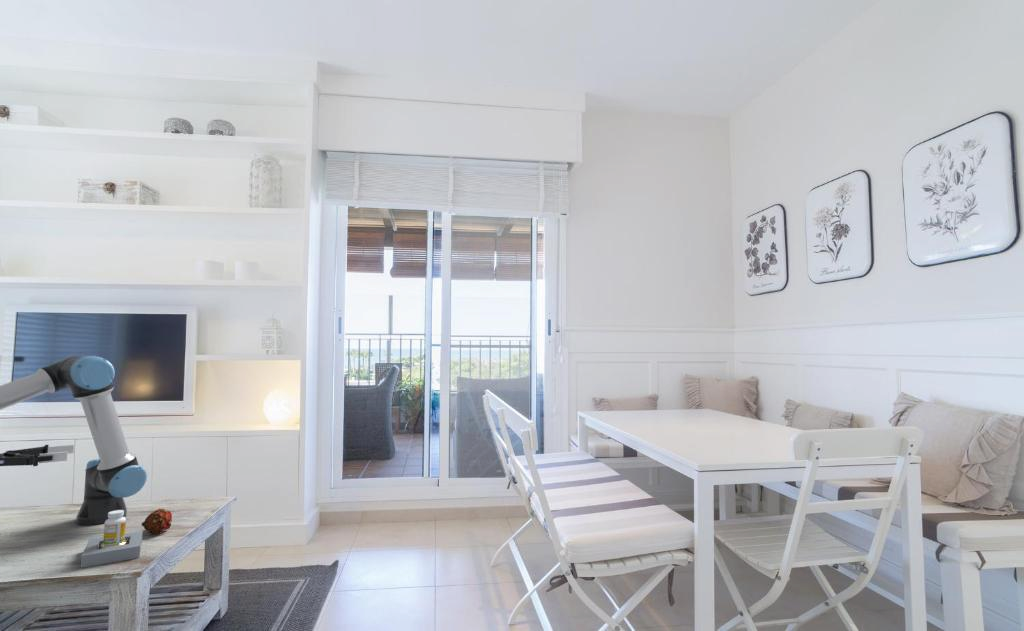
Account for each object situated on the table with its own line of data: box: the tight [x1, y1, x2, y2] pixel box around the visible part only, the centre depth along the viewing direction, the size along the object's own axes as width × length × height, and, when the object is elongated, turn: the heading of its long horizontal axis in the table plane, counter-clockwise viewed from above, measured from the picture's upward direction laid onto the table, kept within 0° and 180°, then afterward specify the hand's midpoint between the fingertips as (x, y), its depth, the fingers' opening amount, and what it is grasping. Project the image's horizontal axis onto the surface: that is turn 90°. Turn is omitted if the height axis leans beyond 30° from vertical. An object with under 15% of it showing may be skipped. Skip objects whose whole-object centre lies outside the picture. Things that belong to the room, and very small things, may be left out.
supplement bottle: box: [103, 510, 127, 546], centre depth 160 cm, size 5×5×10 cm
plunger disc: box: [101, 540, 127, 548], centre depth 159 cm, size 6×6×2 cm
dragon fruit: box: [141, 508, 173, 534], centre depth 180 cm, size 8×8×12 cm
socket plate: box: [80, 530, 144, 569], centre depth 159 cm, size 16×14×4 cm
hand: (70, 452), depth 163 cm, fingers open, 13 cm apart
